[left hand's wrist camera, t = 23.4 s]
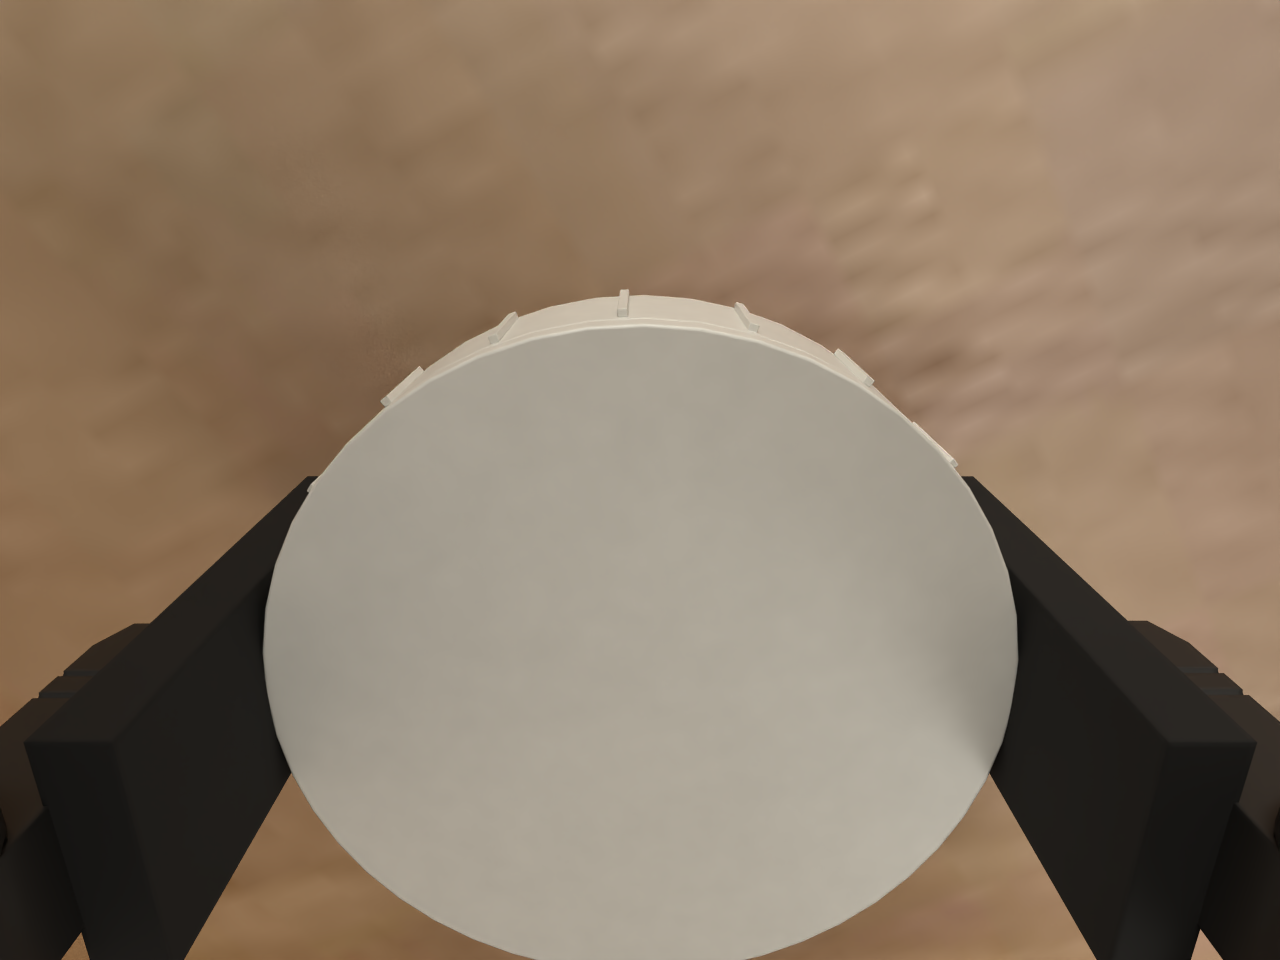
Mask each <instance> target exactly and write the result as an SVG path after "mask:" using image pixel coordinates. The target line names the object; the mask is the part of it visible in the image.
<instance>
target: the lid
mask: <svg viewBox="0 0 1280 960" xmlns="http://www.w3.org/2000/svg"><path fill="white" fill-rule="evenodd" d="M873 383H874V380H873V379H872V378H871V377H870V376H869V375H868V374H867V373H866V372H865V371H864V370H862V369H861V368H860V367H859V366H858V365H857V364H856V363H855V362H854V361H853V360H852V359H851V358H849V357H848V356H847V355H846V354H845V353H844V352H843V351H841V350H840V349H837V350H836V352H835V353H834V354H833V353H832V352H830V351H829V350H828V349H826V348H825V347H823V346H822V345H820V344H818V343H816V342H814V341H813V340H811V339H809V338H807V337H805V336H803V335H801V334H799V333H797V332H795V331H793V330H791V329H790V328H788V327H786V326H784V325H782V324H780V323H777V322H774V321H771V320H768V319H766V318H763V317H760V316H757V315H754V314H752V313H750V312H749V311H748V309H747V308H746V307H745V305H744V304H742V303H738V302H736V303H735V306H734V308H733V307H728V306H724V305H719V304H714V303H710V302H705V301H700V300H696V299H690V298H677V297H664V296H651V295H635V296H629V290H628V289H625V290H620V295H619V296H617V297H600V298H592V299H587V300H582V301H577V302H572V303H566V304H561V305H556V306H551V307H548V308H545V309H542V310H539V311H536V312H533V313H530V314H527V315H524V316H521V317H518V316H517V313H516V312H512V313H510V314H508V315H507V316H506V317H505V318H504V319H503V321H502V322H501V323H500V324H499V325H498V326H496V327H494V328H492V329H490V330H488V331H486V332H484V333H482V334H480V335H478V336H476V337H474V338H472V339H470V340H468V341H466V342H464V343H463V344H461V345H460V346H458V347H457V348H455V349H454V350H453V351H451V352H450V353H448V354H447V355H445V356H444V357H442V358H441V359H439V360H438V361H436V362H435V363H434V364H432V365H431V366H429V367H428V368H427V369H426V370H425V371H424V370H423V369H422V368H421V367H420V366H419V367H418V368H416V369H415V370H414V371H413V372H412V373H411V374H410V375H409V376H407V377H406V378H405V379H404V380H403V381H402V382H401V383H400V384H399V385H397V386H396V387H395V388H394V389H393V390H392V391H391V392H390V393H389V394H387V395H386V396H385V397H384V398H383V399H382V400H381V401H380V402H381V403H382V404H383V405H384V406H385V408H384V409H383V410H381V411H380V412H379V413H378V414H377V415H376V416H375V417H374V418H373V419H372V420H371V421H370V422H369V423H368V424H367V425H366V426H364V427H363V428H362V429H361V430H360V431H359V432H358V433H357V434H356V435H355V436H354V437H353V438H352V439H351V440H350V441H349V442H348V443H347V444H346V445H345V446H344V447H343V448H342V450H341V451H340V452H339V453H338V455H337V456H336V457H335V458H334V460H333V461H332V462H331V463H330V465H329V466H328V467H327V468H326V469H325V471H324V472H323V473H322V474H321V475H320V476H319V477H318V478H317V479H316V480H315V481H314V482H313V483H312V484H311V485H310V486H309V488H308V490H307V492H309V494H308V496H307V497H306V499H305V501H304V502H303V504H302V506H301V508H300V509H299V511H298V513H297V514H296V516H295V518H294V519H293V521H292V523H291V526H290V528H289V531H288V533H287V536H286V538H285V541H284V543H283V546H282V549H281V551H280V554H279V556H278V559H277V561H276V564H275V567H274V572H273V576H272V581H271V585H270V590H269V594H268V599H267V603H266V608H265V623H264V639H263V661H264V672H265V681H266V687H267V693H268V699H269V704H270V709H271V714H272V719H273V723H274V727H275V731H276V735H277V738H278V741H279V743H280V745H281V748H282V750H283V753H284V755H285V758H286V760H287V763H288V765H289V768H290V770H291V772H292V775H293V777H294V778H295V780H296V782H297V783H298V785H299V787H300V789H301V790H302V792H303V794H304V796H305V797H306V799H307V801H308V802H309V804H310V806H311V808H312V809H313V811H314V812H315V814H316V815H317V816H318V817H319V819H320V820H321V821H322V823H323V824H324V825H325V827H326V828H327V829H328V830H329V832H330V833H331V834H332V836H333V837H334V838H335V840H336V841H337V842H338V843H339V844H340V845H341V846H342V847H343V848H344V849H345V850H346V851H347V853H348V854H349V855H350V856H351V857H352V858H353V859H354V860H355V861H356V862H357V863H358V864H359V865H360V866H361V867H362V868H363V869H364V870H365V871H366V872H367V873H368V874H370V875H371V876H372V877H373V878H375V879H376V880H377V881H378V882H380V883H381V884H382V885H384V886H385V887H386V888H387V889H389V890H390V891H391V892H392V893H394V894H395V895H396V896H397V897H399V898H400V899H401V900H403V901H405V902H406V903H408V904H409V905H411V906H412V907H414V908H416V909H417V910H419V911H420V912H422V913H424V914H425V915H427V916H428V917H430V918H432V919H433V920H435V921H437V922H439V923H441V924H443V925H445V926H447V927H449V928H451V929H453V930H455V931H457V932H459V933H461V934H463V935H465V936H467V937H469V938H471V939H474V940H476V941H479V942H482V943H485V944H487V945H490V946H493V947H496V948H498V949H501V950H504V951H507V952H509V953H512V954H516V955H520V956H524V957H527V958H531V959H535V960H746V959H750V958H755V957H759V956H763V955H766V954H769V953H772V952H774V951H777V950H780V949H783V948H786V947H789V946H792V945H795V944H797V943H800V942H803V941H805V940H807V939H809V938H812V937H814V936H816V935H818V934H820V933H822V932H824V931H826V930H829V929H831V928H833V927H835V926H837V925H839V924H841V923H843V922H844V921H846V920H848V919H849V918H851V917H853V916H854V915H856V914H858V913H859V912H861V911H863V910H864V909H866V908H868V907H869V906H871V905H873V904H874V903H876V902H877V901H879V900H880V899H881V898H882V897H884V896H885V895H886V894H888V893H889V892H890V891H892V890H893V889H894V888H895V887H897V886H898V885H899V884H901V883H902V882H903V881H905V880H906V879H907V878H908V877H910V876H911V875H912V874H913V873H914V872H915V871H916V870H917V869H918V868H919V867H920V866H921V865H922V864H923V863H924V862H925V861H926V860H927V859H928V858H929V857H930V856H931V855H932V854H933V853H934V852H935V851H936V850H937V849H938V848H939V847H940V846H941V845H942V843H943V842H944V841H945V840H946V838H947V837H948V836H949V835H950V833H951V832H952V831H953V830H954V828H955V827H956V826H957V825H958V823H959V822H960V821H961V820H962V818H963V817H964V816H965V814H966V813H967V811H968V809H969V808H970V806H971V804H972V803H973V801H974V799H975V798H976V796H977V794H978V793H979V791H980V790H981V788H982V786H983V785H984V783H985V781H986V779H987V777H988V775H989V772H990V770H991V768H992V765H993V763H994V761H995V758H996V756H997V754H998V752H999V749H1000V747H1001V745H1002V742H1003V739H1004V735H1005V731H1006V728H1007V724H1008V719H1009V714H1010V709H1011V704H1012V699H1013V693H1014V687H1015V681H1016V675H1017V667H1018V637H1017V614H1016V609H1015V604H1014V599H1013V594H1012V589H1011V584H1010V579H1009V574H1008V570H1007V567H1006V565H1005V562H1004V559H1003V556H1002V554H1001V551H1000V548H999V546H998V543H997V540H996V537H995V535H994V532H993V529H992V527H991V525H990V524H989V522H988V520H987V518H986V516H985V515H984V513H983V511H982V509H981V507H980V506H979V504H978V502H977V500H976V498H975V497H974V495H973V493H972V491H971V489H970V488H969V486H968V485H967V484H966V482H965V481H964V480H963V479H962V477H961V476H960V475H959V473H958V472H957V471H956V470H955V467H957V466H958V464H957V462H956V461H955V460H954V458H953V457H951V456H950V455H949V454H948V453H947V452H946V451H945V450H944V449H943V448H942V447H941V446H940V445H939V444H938V443H937V442H935V441H934V440H933V439H932V438H931V437H930V436H929V435H928V434H927V433H926V432H925V431H924V430H923V429H922V428H920V427H919V426H918V425H917V424H916V423H915V422H913V423H912V422H911V421H910V420H909V419H908V418H907V417H906V416H905V415H903V414H902V413H901V412H900V411H899V410H898V409H897V408H896V407H895V406H894V405H893V404H892V403H891V402H890V401H889V400H888V399H887V398H886V397H884V396H883V395H882V394H881V393H880V392H879V391H878V390H877V389H876V388H875V387H874V386H873V385H872V384H873Z"/></svg>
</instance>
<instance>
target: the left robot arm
mask: <svg viewBox="0 0 1280 960" xmlns="http://www.w3.org/2000/svg"><path fill="white" fill-rule="evenodd" d="M318 477H319V476H307V477H306V478H305V479H304V480H303V481H302V482H301V483H300V484H299V485H298V486H297V487H296V488H295V489H294V490H292V491H291V492H290V493H289V494H288V495H287V496H286V497H285V498H284V499H283V500H282V501H281V502H280V503H279V504H278V505H276V506H275V507H274V508H273V509H272V510H271V511H270V512H269V513H268V514H267V515H266V516H265V517H264V518H263V519H261V520H260V521H259V522H258V523H257V524H256V525H255V526H254V527H253V528H252V529H251V530H250V531H249V532H248V533H246V534H245V535H244V536H243V537H242V538H241V539H240V540H239V541H238V542H237V543H236V544H235V545H234V546H233V547H232V548H230V549H229V550H228V551H227V552H226V553H225V554H224V555H223V556H222V557H221V558H220V559H219V560H218V561H217V562H215V563H214V564H213V565H212V566H211V567H210V568H209V569H208V570H207V571H206V572H205V573H204V574H203V575H202V576H201V577H199V578H198V579H197V580H196V581H195V582H194V583H193V584H192V585H191V586H190V587H189V588H188V589H187V590H186V591H184V592H183V593H182V594H181V595H180V596H179V597H178V598H177V599H176V600H175V601H174V602H173V603H172V604H171V605H169V606H168V607H167V608H166V609H165V610H164V611H163V612H162V613H161V614H160V615H159V616H158V617H157V618H156V619H155V620H153V621H152V622H151V623H150V624H133V625H131V626H129V627H127V628H125V629H123V630H121V631H119V632H118V633H116V634H114V635H112V636H110V637H108V638H106V639H104V640H102V641H100V642H99V643H97V644H95V645H93V646H92V647H91V648H89V649H88V650H87V651H86V652H85V653H84V654H83V655H82V656H80V657H79V658H78V659H77V660H76V661H75V662H74V663H72V664H71V665H70V666H69V667H68V668H67V669H66V670H64V674H63V676H58V677H56V678H55V679H54V680H53V681H52V682H51V683H50V684H48V685H47V686H46V687H45V688H44V689H43V690H42V691H40V692H39V698H32V699H31V700H30V701H29V702H28V703H27V704H26V705H24V706H23V707H22V708H21V709H20V710H19V711H18V712H17V713H15V714H14V715H13V716H12V717H11V718H10V719H9V720H7V721H6V722H5V723H4V724H3V725H2V726H1V727H0V960H61V959H62V958H63V956H64V955H65V954H66V952H67V951H68V949H69V948H70V947H71V945H72V944H73V943H74V941H75V940H76V938H77V937H78V936H79V934H80V933H81V932H82V935H83V939H84V942H85V945H86V949H87V952H88V955H89V958H90V960H184V959H185V957H186V955H187V953H188V952H189V950H190V948H191V946H192V945H193V943H194V941H195V939H196V938H197V936H198V934H199V932H200V931H201V929H202V927H203V926H204V924H205V922H206V920H207V919H208V917H209V915H210V913H211V912H212V910H213V908H214V906H215V905H216V903H217V901H218V899H219V898H220V896H221V894H222V892H223V891H224V889H225V887H226V885H227V884H228V882H229V880H230V878H231V877H232V875H233V873H234V872H235V870H236V868H237V866H238V865H239V863H240V861H241V859H242V858H243V856H244V854H245V852H246V851H247V849H248V847H249V845H250V844H251V842H252V840H253V838H254V837H255V835H256V833H257V831H258V830H259V828H260V826H261V825H262V823H263V821H264V819H265V818H266V816H267V814H268V812H269V811H270V809H271V807H272V805H273V804H274V802H275V800H276V798H277V797H278V795H279V793H280V791H281V790H282V788H283V786H284V784H285V783H286V781H287V779H288V778H289V776H290V774H291V770H290V768H289V765H288V763H287V760H286V758H285V755H284V753H283V750H282V748H281V745H280V743H279V741H278V738H277V735H276V731H275V727H274V723H273V719H272V714H271V709H270V704H269V699H268V693H267V687H266V681H265V672H264V661H263V639H264V623H265V608H266V603H267V599H268V594H269V590H270V585H271V581H272V576H273V572H274V567H275V564H276V561H277V559H278V556H279V554H280V551H281V549H282V546H283V543H284V541H285V538H286V536H287V533H288V531H289V528H290V526H291V523H292V521H293V519H294V518H295V516H296V514H297V513H298V511H299V509H300V508H301V506H302V504H303V502H304V501H305V499H306V497H307V496H308V494H309V492H307V490H308V488H309V486H310V485H311V484H312V483H313V482H314V481H315V480H316V479H317V478H318ZM961 477H962V479H963V480H964V481H965V482H966V484H967V485H968V486H969V488H970V489H971V491H972V493H973V495H974V497H975V498H976V500H977V502H978V504H979V506H980V507H981V509H982V511H983V513H984V515H985V516H986V518H987V520H988V522H989V524H990V525H991V527H992V529H993V532H994V535H995V537H996V540H997V543H998V546H999V548H1000V551H1001V554H1002V556H1003V559H1004V562H1005V565H1006V567H1007V570H1008V574H1009V579H1010V584H1011V589H1012V594H1013V599H1014V604H1015V609H1016V614H1017V637H1018V667H1017V675H1016V681H1015V687H1014V693H1013V699H1012V704H1011V709H1010V714H1009V719H1008V724H1007V728H1006V731H1005V735H1004V739H1003V742H1002V745H1001V747H1000V749H999V752H998V754H997V756H996V758H995V761H994V763H993V765H992V768H991V770H990V772H989V773H990V775H991V777H992V778H993V780H994V782H995V784H996V785H997V787H998V789H999V790H1000V792H1001V794H1002V796H1003V797H1004V799H1005V801H1006V803H1007V804H1008V806H1009V808H1010V810H1011V811H1012V813H1013V815H1014V817H1015V818H1016V820H1017V822H1018V824H1019V825H1020V827H1021V829H1022V831H1023V832H1024V834H1025V836H1026V837H1027V839H1028V841H1029V843H1030V844H1031V846H1032V848H1033V850H1034V851H1035V853H1036V855H1037V857H1038V858H1039V860H1040V862H1041V864H1042V865H1043V867H1044V869H1045V871H1046V872H1047V874H1048V876H1049V878H1050V879H1051V881H1052V883H1053V884H1054V886H1055V888H1056V890H1057V891H1058V893H1059V895H1060V897H1061V898H1062V900H1063V902H1064V904H1065V905H1066V907H1067V909H1068V911H1069V912H1070V914H1071V916H1072V918H1073V919H1074V921H1075V923H1076V925H1077V926H1078V928H1079V930H1080V932H1081V933H1082V935H1083V937H1084V938H1085V940H1086V942H1087V944H1088V945H1089V947H1090V949H1091V951H1092V952H1093V954H1094V956H1095V958H1096V959H1097V960H1191V957H1192V954H1193V951H1194V948H1195V944H1196V941H1197V938H1198V934H1199V931H1200V929H1201V930H1202V932H1203V933H1204V934H1205V936H1206V937H1207V938H1208V940H1209V941H1210V943H1211V944H1212V945H1213V947H1214V948H1215V949H1216V951H1217V952H1218V953H1219V955H1220V956H1221V958H1222V959H1223V960H1280V722H1279V721H1278V720H1277V719H1276V718H1275V717H1273V716H1272V715H1271V714H1270V713H1269V712H1268V711H1267V710H1265V709H1264V708H1263V707H1262V706H1261V705H1260V704H1259V703H1257V702H1256V701H1255V700H1254V699H1253V698H1252V697H1251V696H1249V695H1243V692H1242V691H1243V690H1242V689H1241V688H1240V687H1239V686H1238V685H1237V684H1236V683H1234V682H1233V681H1232V680H1231V679H1230V678H1229V677H1228V676H1226V675H1225V674H1224V673H1218V668H1217V667H1216V666H1215V665H1214V664H1213V663H1211V662H1210V661H1209V660H1208V659H1207V658H1206V657H1205V656H1203V655H1202V654H1201V653H1200V652H1199V651H1198V650H1197V649H1195V648H1194V647H1193V646H1192V645H1191V644H1190V643H1188V642H1186V641H1185V640H1183V639H1181V638H1179V637H1177V636H1175V635H1173V634H1171V633H1169V632H1167V631H1166V630H1164V629H1162V628H1160V627H1158V626H1156V625H1154V624H1152V623H1150V622H1148V621H1127V620H1126V619H1125V618H1124V617H1123V616H1122V615H1121V614H1120V613H1119V612H1118V611H1116V610H1115V609H1114V608H1113V607H1112V606H1111V605H1110V604H1109V603H1108V602H1107V601H1106V600H1105V599H1104V598H1103V597H1101V596H1100V595H1099V594H1098V593H1097V592H1096V591H1095V590H1094V589H1093V588H1092V587H1091V586H1090V585H1089V584H1088V583H1087V582H1085V581H1084V580H1083V579H1082V578H1081V577H1080V576H1079V575H1078V574H1077V573H1076V572H1075V571H1074V570H1073V569H1072V568H1070V567H1069V566H1068V565H1067V564H1066V563H1065V562H1064V561H1063V560H1062V559H1061V558H1060V557H1059V556H1058V555H1057V554H1055V553H1054V552H1053V551H1052V550H1051V549H1050V548H1049V547H1048V546H1047V545H1046V544H1045V543H1044V542H1043V541H1042V540H1041V539H1039V538H1038V537H1037V536H1036V535H1035V534H1034V533H1033V532H1032V531H1031V530H1030V529H1029V528H1028V527H1027V526H1026V525H1024V524H1023V523H1022V522H1021V521H1020V520H1019V519H1018V518H1017V517H1016V516H1015V515H1014V514H1013V513H1012V512H1011V511H1009V510H1008V509H1007V508H1006V507H1005V506H1004V505H1003V504H1002V503H1001V502H1000V501H999V500H998V499H997V498H996V497H994V496H993V495H992V494H991V493H990V492H989V491H988V490H987V489H986V488H985V487H984V486H983V485H982V484H981V483H980V482H978V481H977V480H976V479H975V478H974V477H973V476H961Z"/></svg>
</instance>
